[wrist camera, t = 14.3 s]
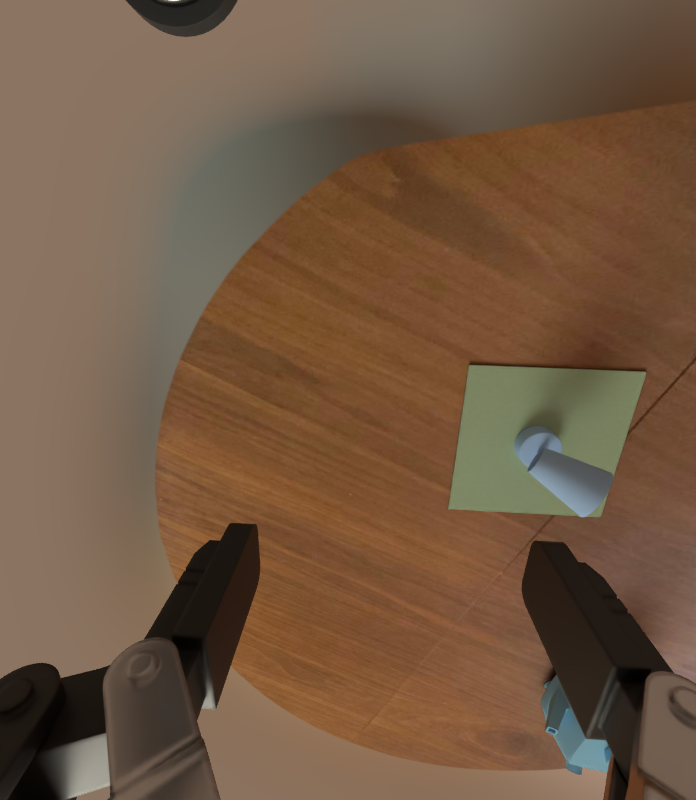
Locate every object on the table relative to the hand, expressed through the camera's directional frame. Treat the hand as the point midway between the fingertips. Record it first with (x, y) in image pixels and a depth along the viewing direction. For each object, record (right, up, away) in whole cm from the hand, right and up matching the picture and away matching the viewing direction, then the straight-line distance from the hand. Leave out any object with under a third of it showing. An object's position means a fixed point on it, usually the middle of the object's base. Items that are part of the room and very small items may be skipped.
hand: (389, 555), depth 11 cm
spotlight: (+20, 0, +31) cm, 37 cm away
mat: (+20, -1, +31) cm, 37 cm away
